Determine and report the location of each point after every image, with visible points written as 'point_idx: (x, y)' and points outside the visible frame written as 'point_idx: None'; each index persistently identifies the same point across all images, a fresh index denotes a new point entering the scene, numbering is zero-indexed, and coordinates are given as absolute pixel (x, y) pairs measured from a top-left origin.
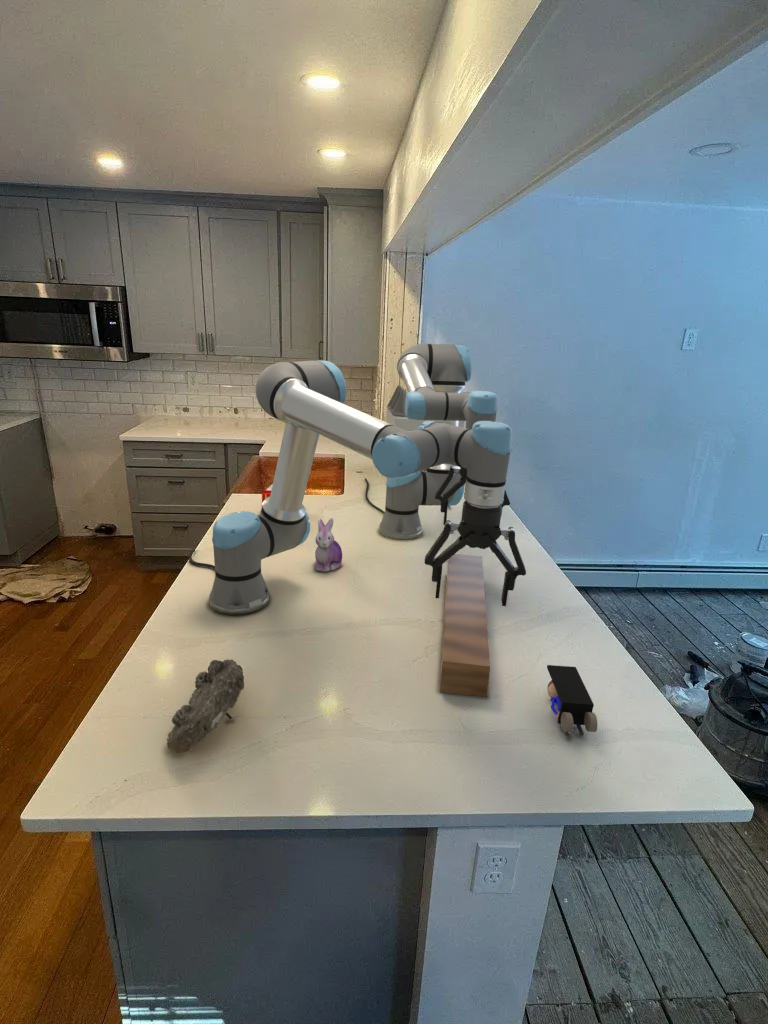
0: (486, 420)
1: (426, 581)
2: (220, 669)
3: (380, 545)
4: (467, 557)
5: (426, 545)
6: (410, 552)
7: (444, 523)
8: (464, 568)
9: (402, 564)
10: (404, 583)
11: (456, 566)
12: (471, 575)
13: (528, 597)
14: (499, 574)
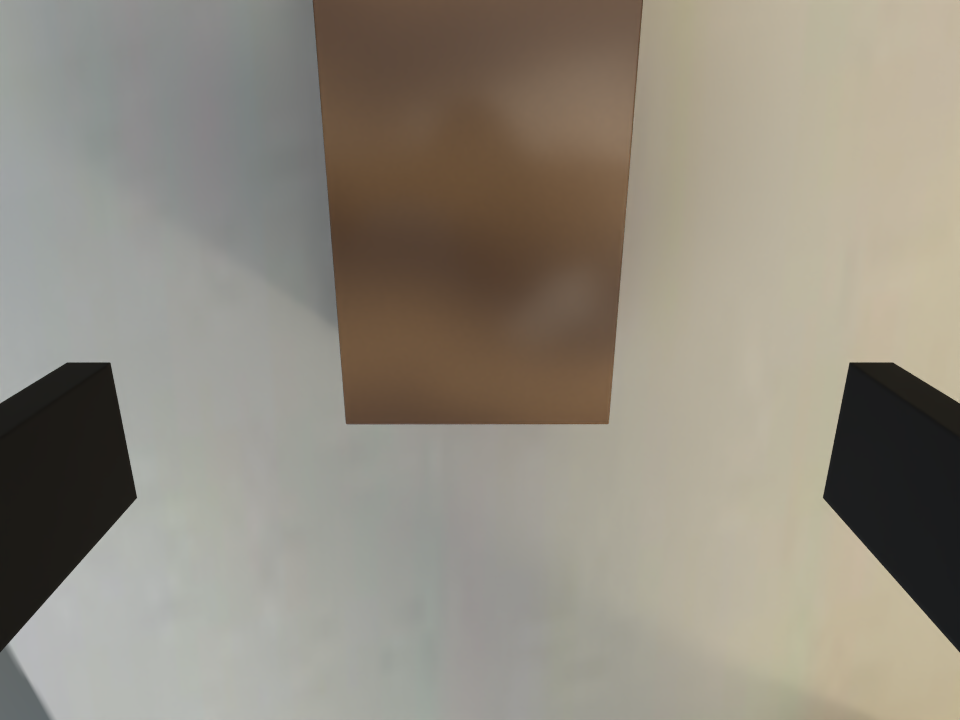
0: None
1: (716, 251)
2: None
3: (956, 653)
4: (460, 382)
5: (684, 700)
6: (785, 605)
7: (887, 371)
8: (486, 156)
9: None
10: (868, 190)
11: (556, 183)
12: (423, 13)
13: (43, 163)
14: (254, 441)
